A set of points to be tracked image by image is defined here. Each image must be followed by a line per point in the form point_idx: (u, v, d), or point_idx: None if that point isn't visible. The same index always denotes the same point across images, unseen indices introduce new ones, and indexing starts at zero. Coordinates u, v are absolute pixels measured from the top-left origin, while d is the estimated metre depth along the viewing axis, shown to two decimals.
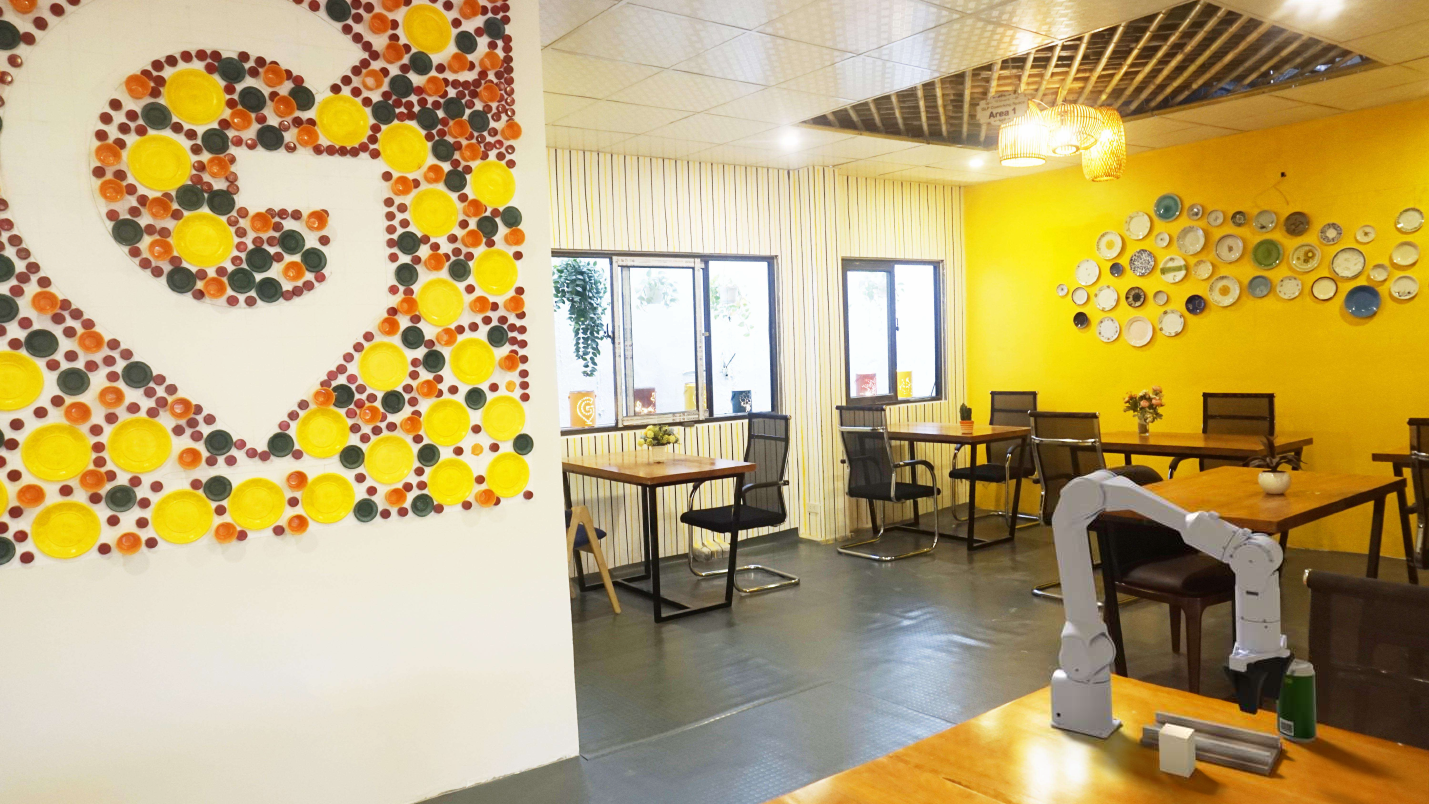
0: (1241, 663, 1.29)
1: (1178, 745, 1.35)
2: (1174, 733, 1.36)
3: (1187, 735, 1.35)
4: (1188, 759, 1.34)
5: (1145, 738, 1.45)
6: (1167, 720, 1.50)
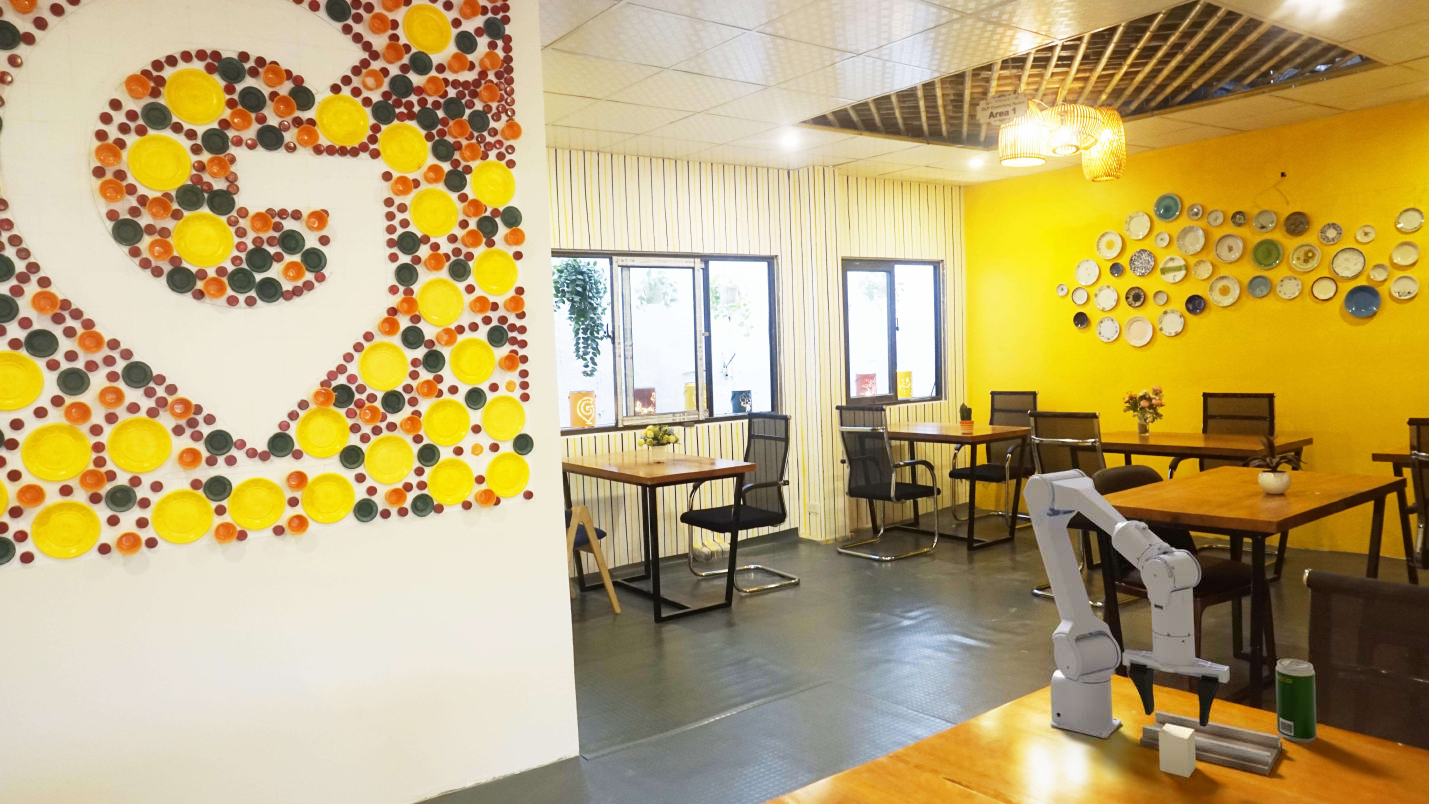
0: None
1: (1178, 745, 1.35)
2: (1174, 733, 1.36)
3: (1187, 735, 1.35)
4: (1188, 759, 1.34)
5: (1145, 738, 1.45)
6: (1167, 720, 1.50)
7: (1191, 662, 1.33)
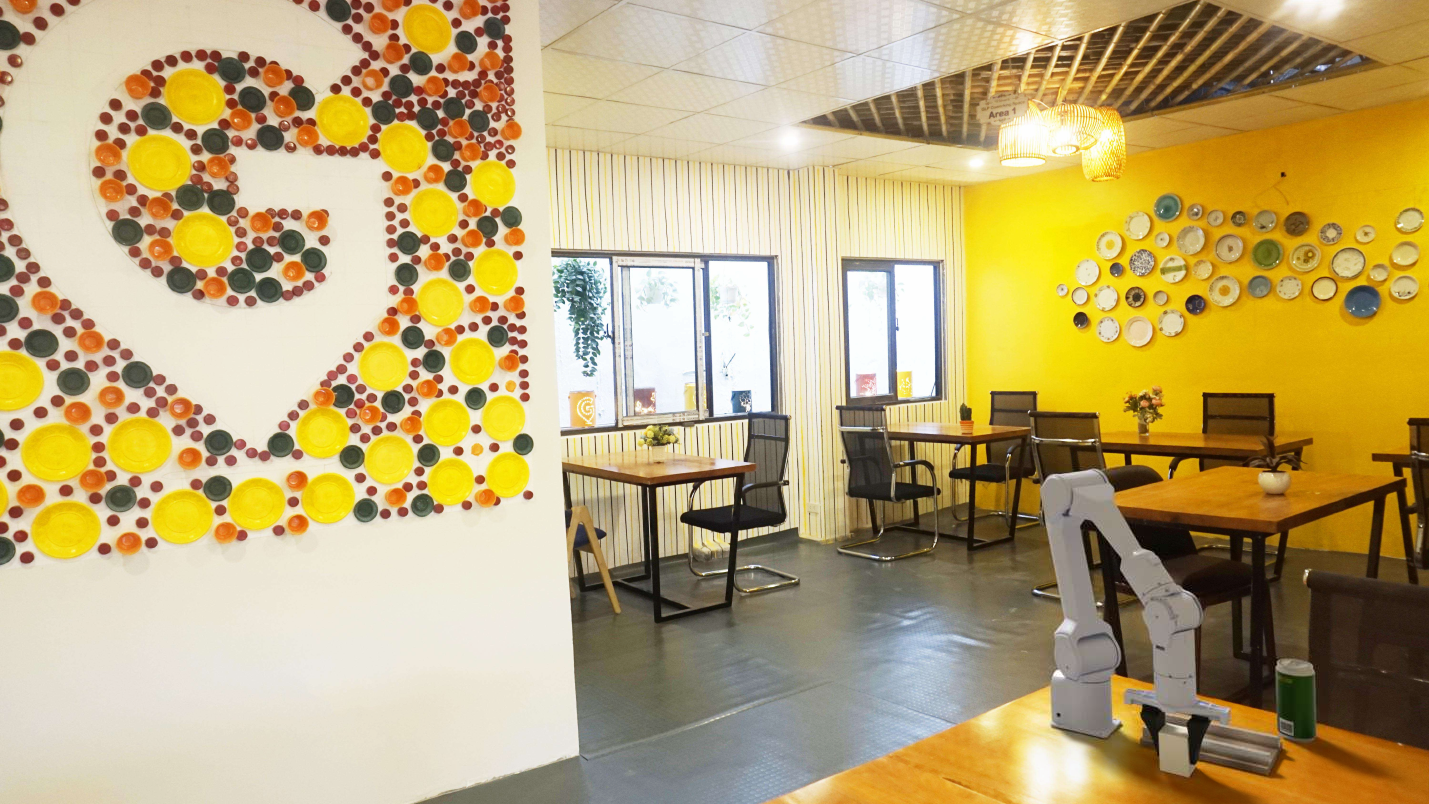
0: None
1: (1178, 745, 1.35)
2: (1174, 733, 1.36)
3: (1187, 734, 1.35)
4: (1188, 759, 1.34)
5: (1145, 738, 1.45)
6: (1167, 720, 1.50)
7: (1192, 703, 1.34)
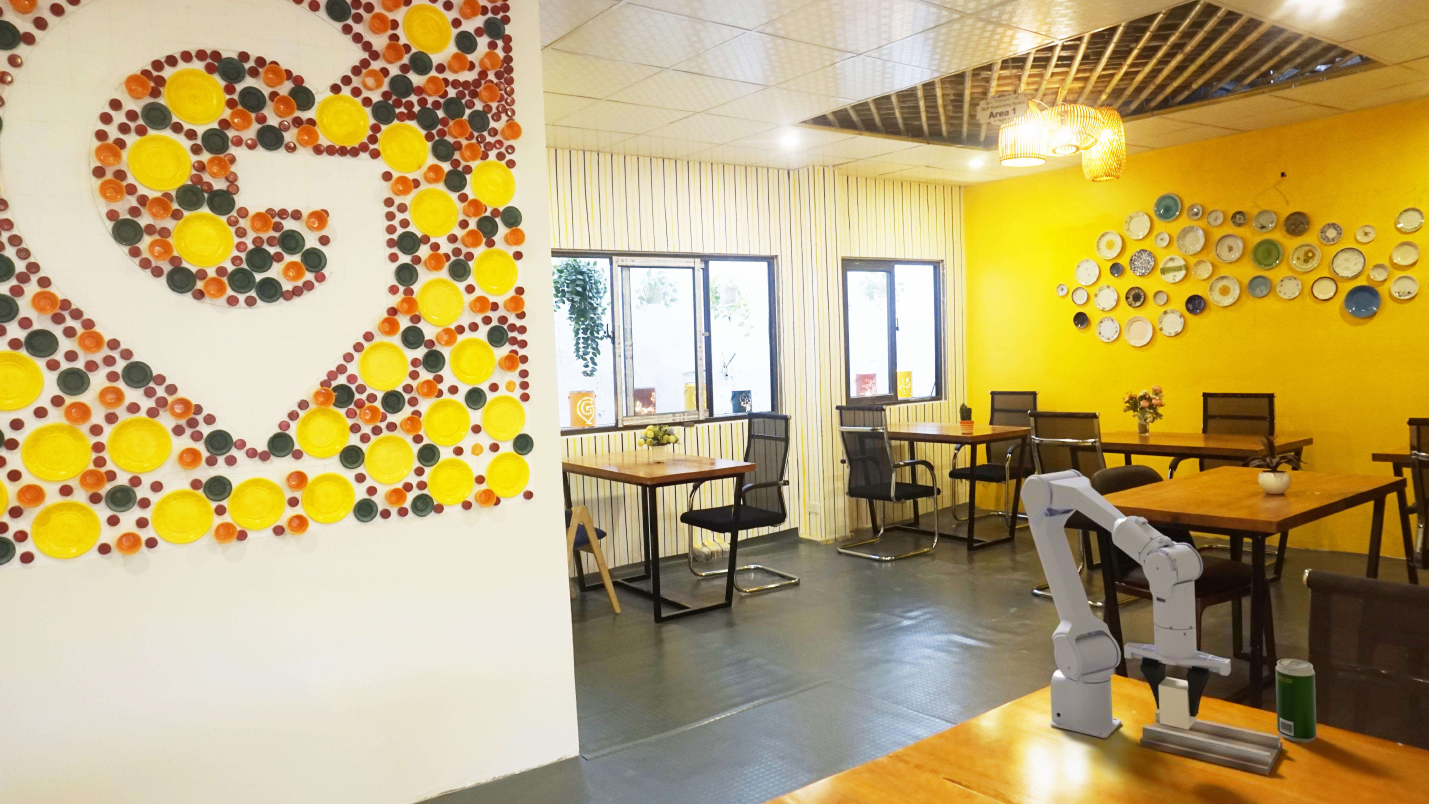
0: None
1: (1178, 697, 1.35)
2: (1174, 685, 1.36)
3: (1187, 687, 1.35)
4: (1188, 711, 1.34)
5: (1145, 738, 1.45)
6: None
7: (1192, 655, 1.34)
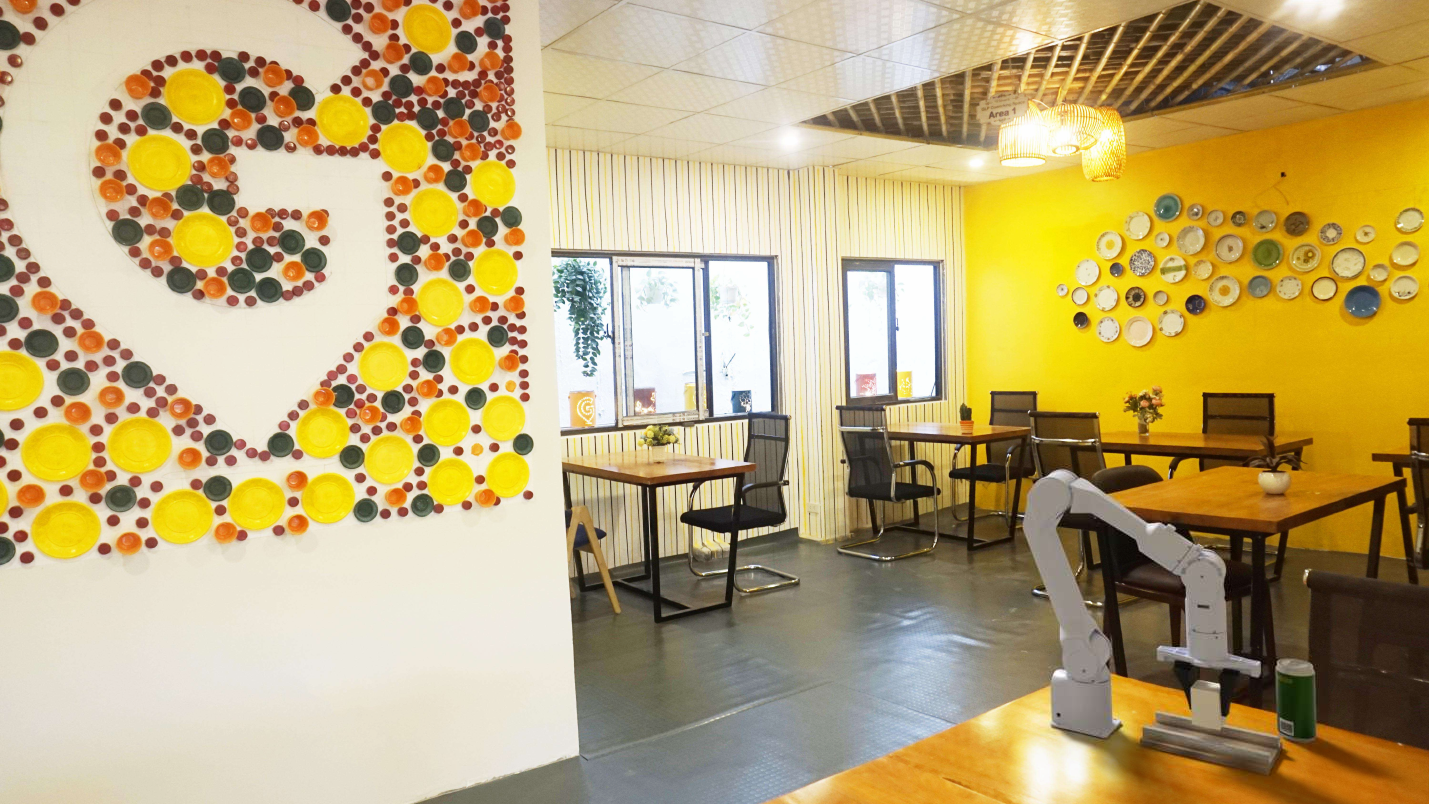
0: (1157, 652, 1.47)
1: (1210, 700, 1.40)
2: (1205, 688, 1.42)
3: (1218, 689, 1.41)
4: (1219, 712, 1.40)
5: (1145, 738, 1.45)
6: (1167, 720, 1.50)
7: (1224, 657, 1.40)
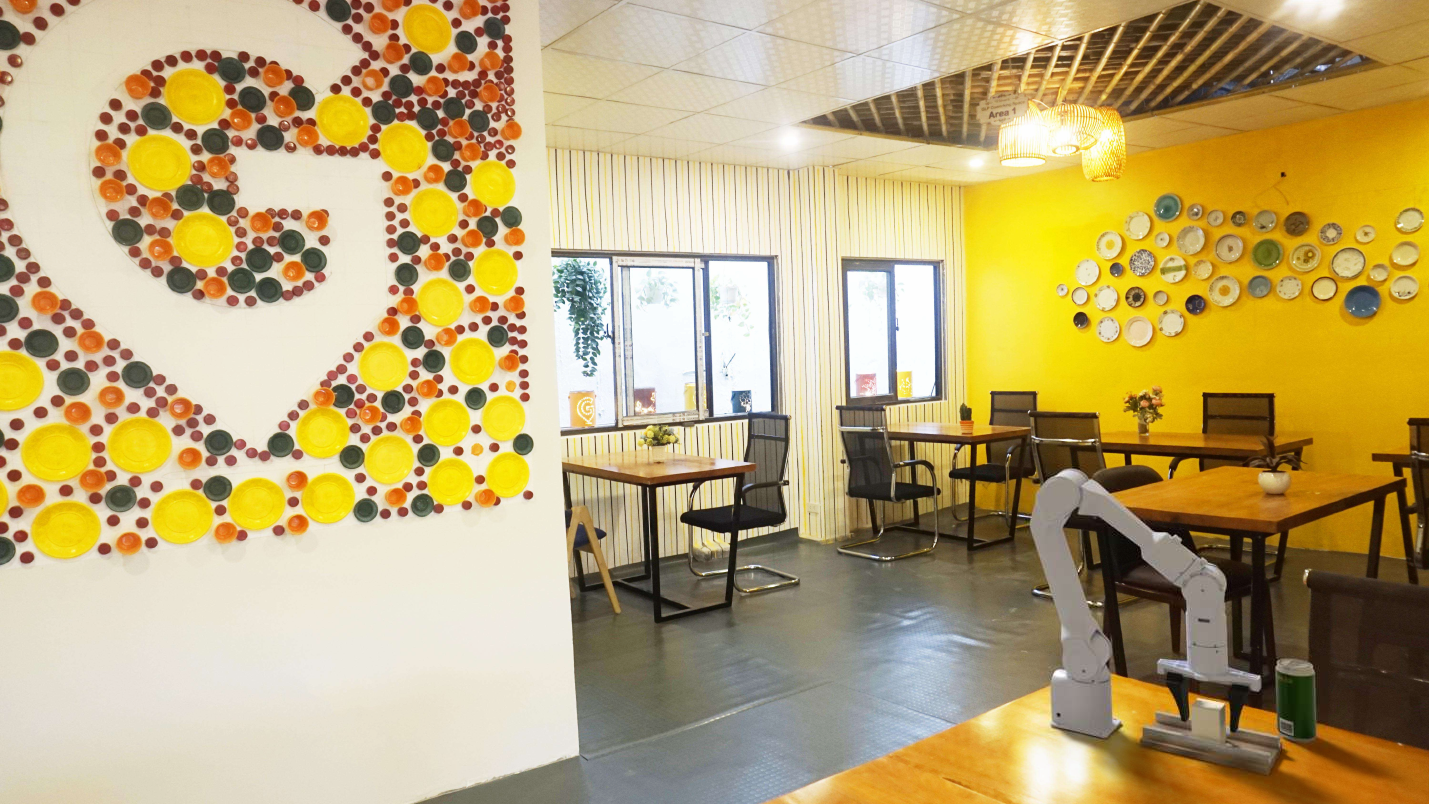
0: (1157, 665, 1.47)
1: (1210, 718, 1.41)
2: (1206, 707, 1.42)
3: (1218, 708, 1.41)
4: (1219, 731, 1.40)
5: (1145, 738, 1.45)
6: (1167, 720, 1.50)
7: (1224, 671, 1.40)
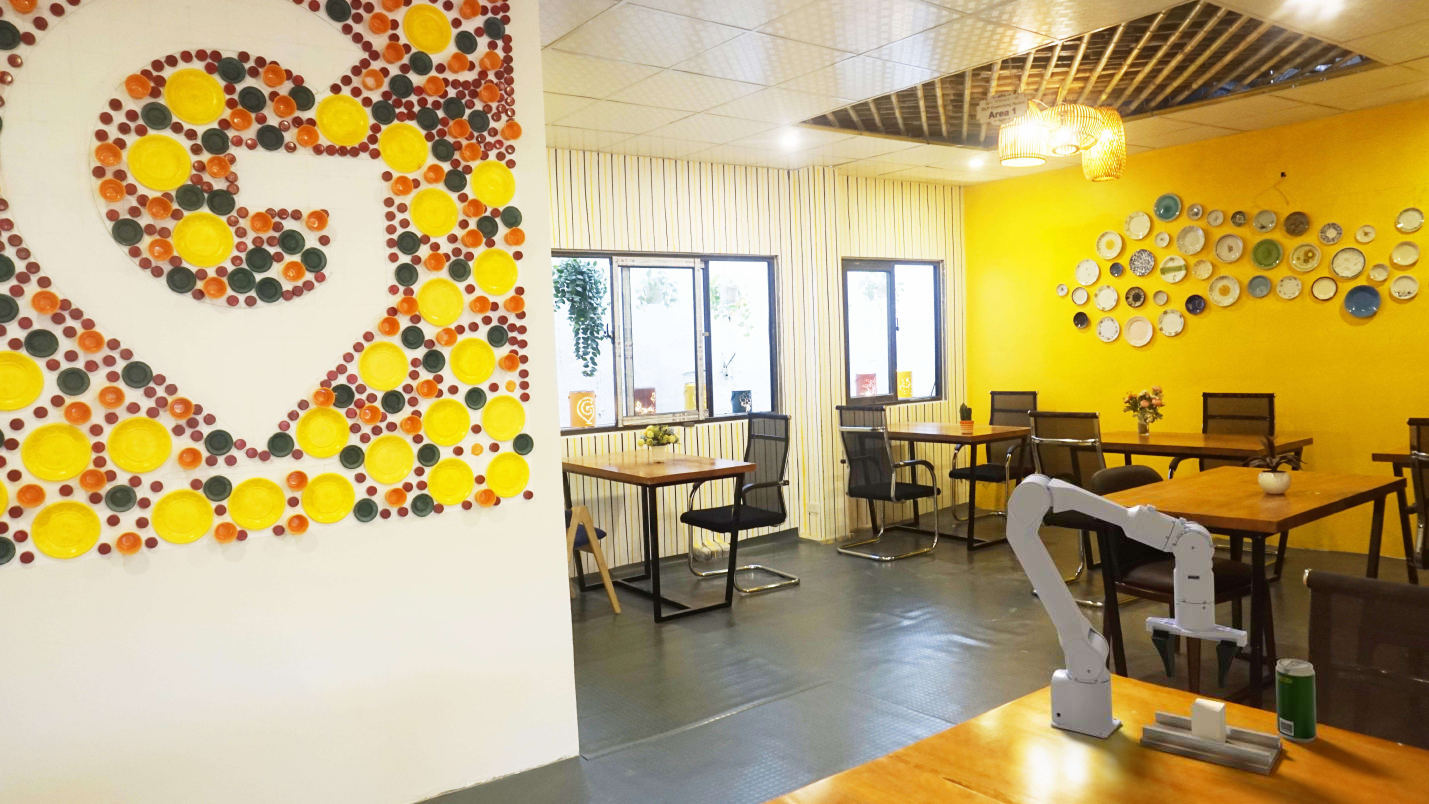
0: None
1: (1210, 718, 1.41)
2: (1206, 707, 1.42)
3: (1218, 708, 1.41)
4: (1219, 731, 1.40)
5: (1145, 738, 1.45)
6: (1167, 720, 1.50)
7: (1211, 627, 1.42)
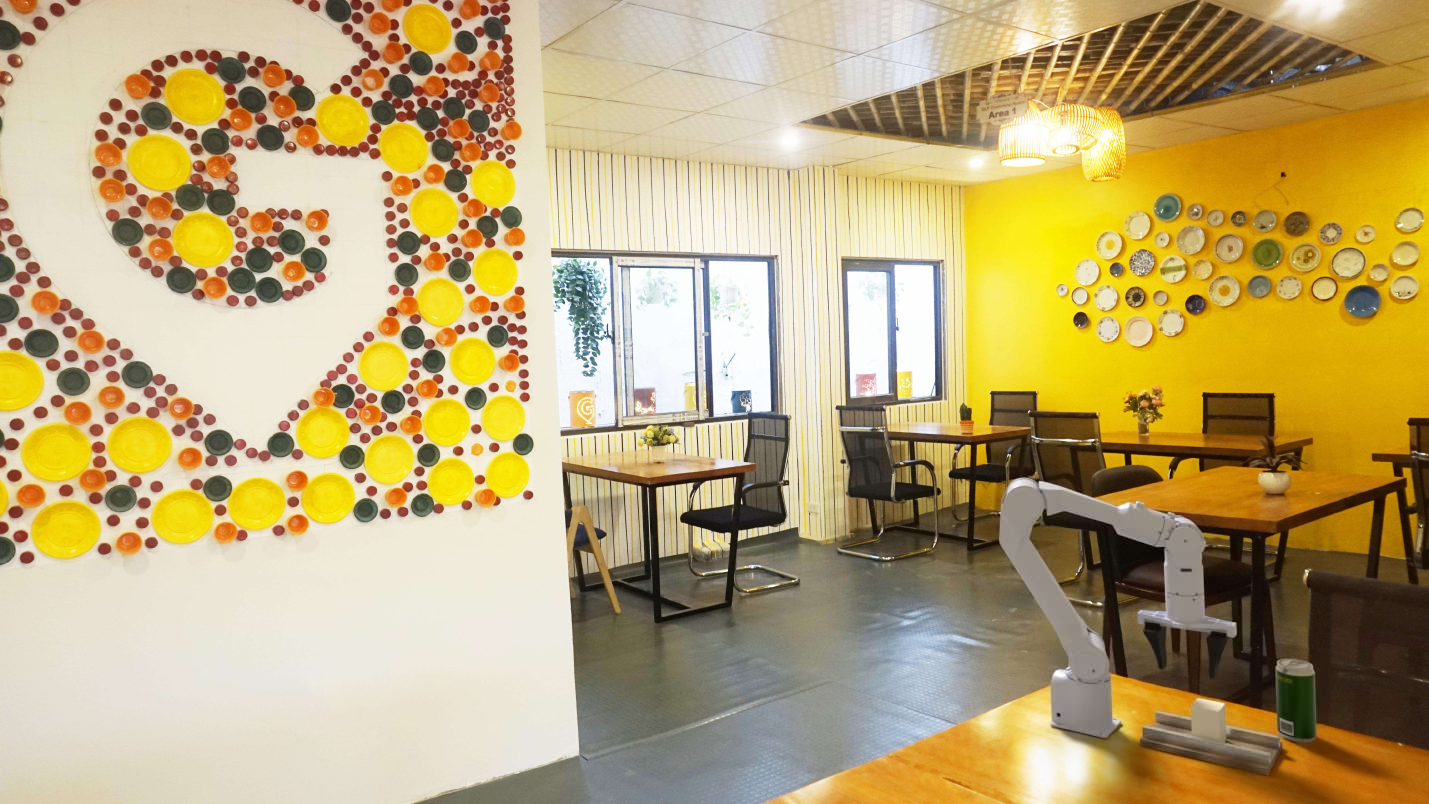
0: None
1: (1210, 718, 1.41)
2: (1206, 707, 1.42)
3: (1218, 708, 1.41)
4: (1219, 731, 1.40)
5: (1145, 738, 1.45)
6: (1167, 720, 1.50)
7: (1201, 619, 1.45)
